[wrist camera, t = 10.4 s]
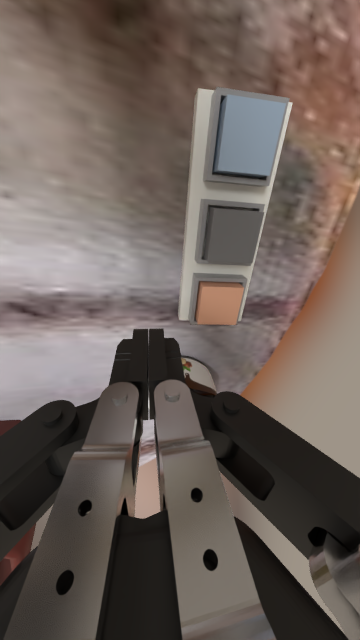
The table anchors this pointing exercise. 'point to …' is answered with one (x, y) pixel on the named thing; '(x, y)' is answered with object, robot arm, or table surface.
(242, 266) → the key panel
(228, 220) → the charcoal key
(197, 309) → the terracotta key
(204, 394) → the spread jar
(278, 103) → the slate key
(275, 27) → the table surface
